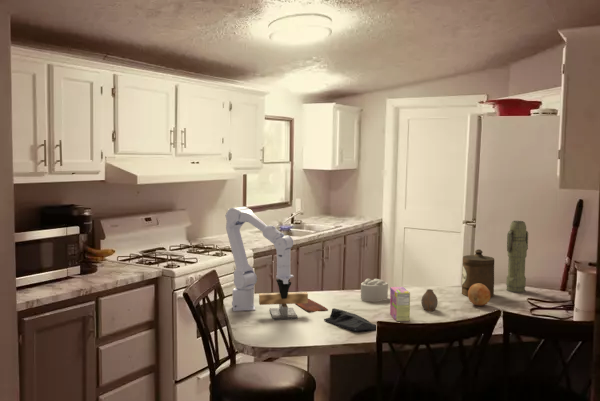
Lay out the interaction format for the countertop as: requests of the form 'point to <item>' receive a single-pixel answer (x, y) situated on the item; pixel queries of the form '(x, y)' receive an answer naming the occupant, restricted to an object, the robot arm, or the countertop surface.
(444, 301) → the countertop surface
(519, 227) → the green totem statue
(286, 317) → the stand
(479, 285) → the orange fruit
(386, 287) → the lumpy-topped squat cylinder
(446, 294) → the countertop surface
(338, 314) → the dark slate chunk
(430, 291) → the vase
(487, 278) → the wooden container
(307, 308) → the wooden tablet
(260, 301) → the oak bar
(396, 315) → the box
